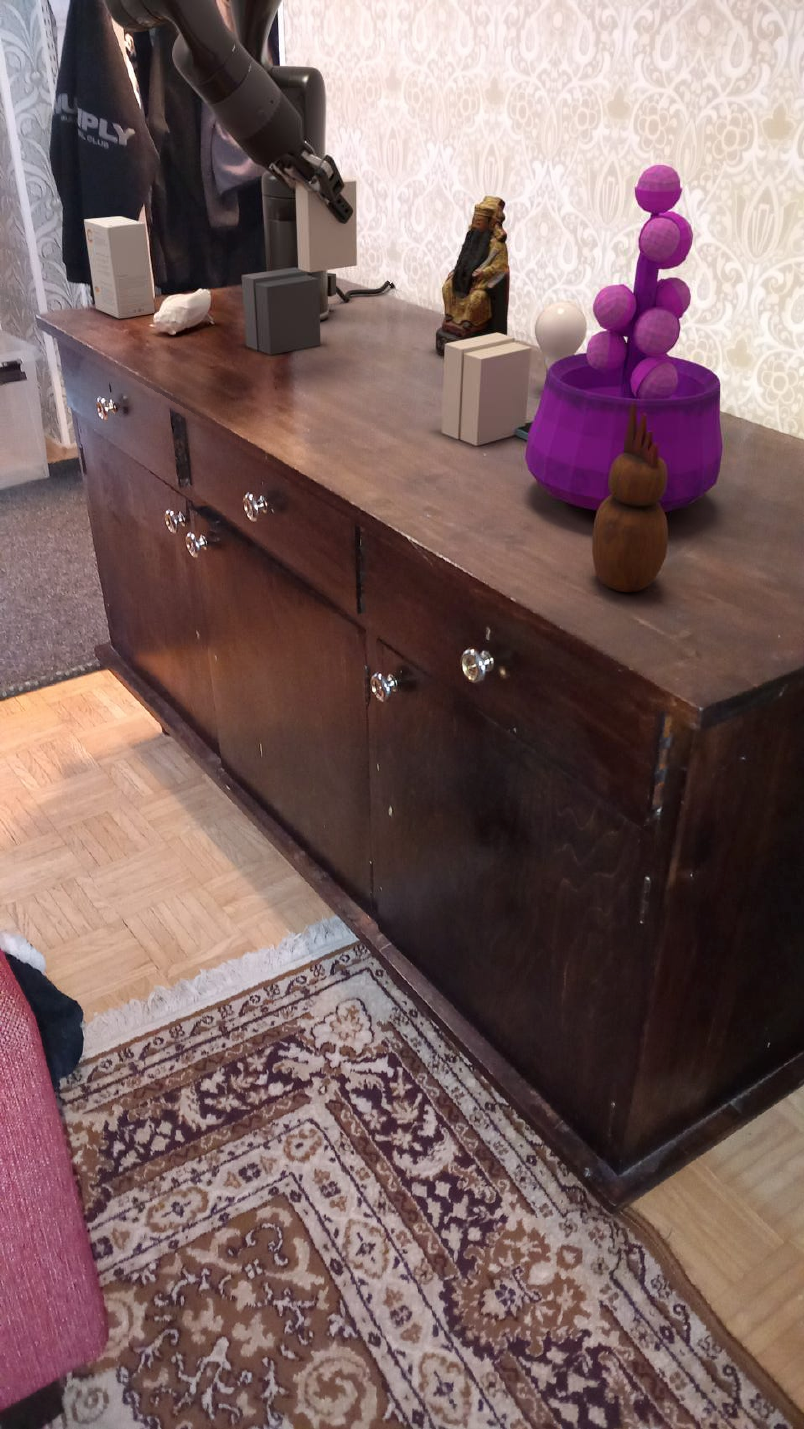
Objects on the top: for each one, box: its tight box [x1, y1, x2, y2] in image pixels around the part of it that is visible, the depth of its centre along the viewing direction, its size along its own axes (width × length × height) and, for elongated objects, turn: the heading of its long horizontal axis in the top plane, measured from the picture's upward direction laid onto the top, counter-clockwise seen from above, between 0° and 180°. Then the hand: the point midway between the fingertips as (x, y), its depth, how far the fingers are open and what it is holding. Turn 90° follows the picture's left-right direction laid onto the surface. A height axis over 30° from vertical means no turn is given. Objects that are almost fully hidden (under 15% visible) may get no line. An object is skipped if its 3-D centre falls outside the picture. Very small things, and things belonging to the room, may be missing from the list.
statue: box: [435, 195, 511, 356], centre depth 143 cm, size 12×8×20 cm, turn 29°
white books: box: [441, 333, 532, 447], centre depth 120 cm, size 6×8×10 cm
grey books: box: [241, 267, 322, 356], centre depth 149 cm, size 6×9×10 cm, turn 130°
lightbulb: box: [534, 300, 588, 377], centre depth 133 cm, size 6×6×11 cm
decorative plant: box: [524, 164, 724, 513], centre depth 98 cm, size 19×18×30 cm
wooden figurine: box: [591, 402, 669, 593], centre depth 87 cm, size 7×6×15 cm
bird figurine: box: [149, 288, 215, 336], centre depth 157 cm, size 5×7×10 cm
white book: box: [296, 177, 358, 272], centre depth 135 cm, size 3×8×10 cm, turn 130°
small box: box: [83, 215, 156, 320], centre depth 163 cm, size 8×6×13 cm
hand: (339, 215), depth 136 cm, fingers closed on white book, 2 cm apart
